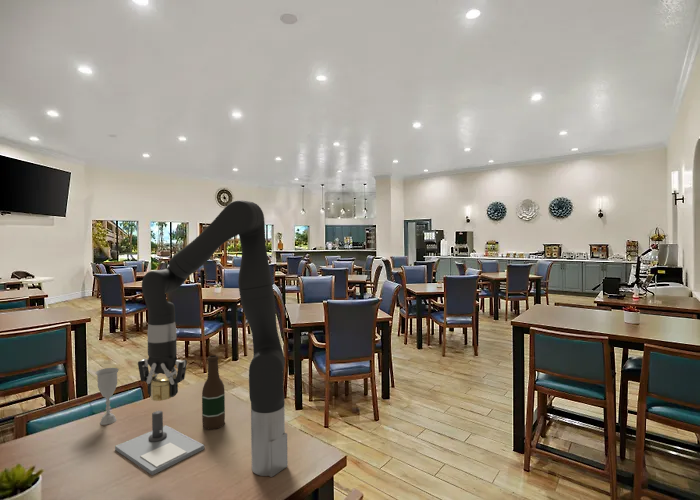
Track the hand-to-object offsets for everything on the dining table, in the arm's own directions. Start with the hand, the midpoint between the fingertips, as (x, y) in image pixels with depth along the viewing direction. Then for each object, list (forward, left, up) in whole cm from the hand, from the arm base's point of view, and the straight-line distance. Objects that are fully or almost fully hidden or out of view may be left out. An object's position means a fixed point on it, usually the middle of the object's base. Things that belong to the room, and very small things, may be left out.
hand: (162, 395), depth 110 cm
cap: (0, 0, 0) cm, 0 cm away
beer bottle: (+6, -21, -19) cm, 29 cm away
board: (+6, -2, -19) cm, 20 cm away
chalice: (+39, -1, -19) cm, 43 cm away
